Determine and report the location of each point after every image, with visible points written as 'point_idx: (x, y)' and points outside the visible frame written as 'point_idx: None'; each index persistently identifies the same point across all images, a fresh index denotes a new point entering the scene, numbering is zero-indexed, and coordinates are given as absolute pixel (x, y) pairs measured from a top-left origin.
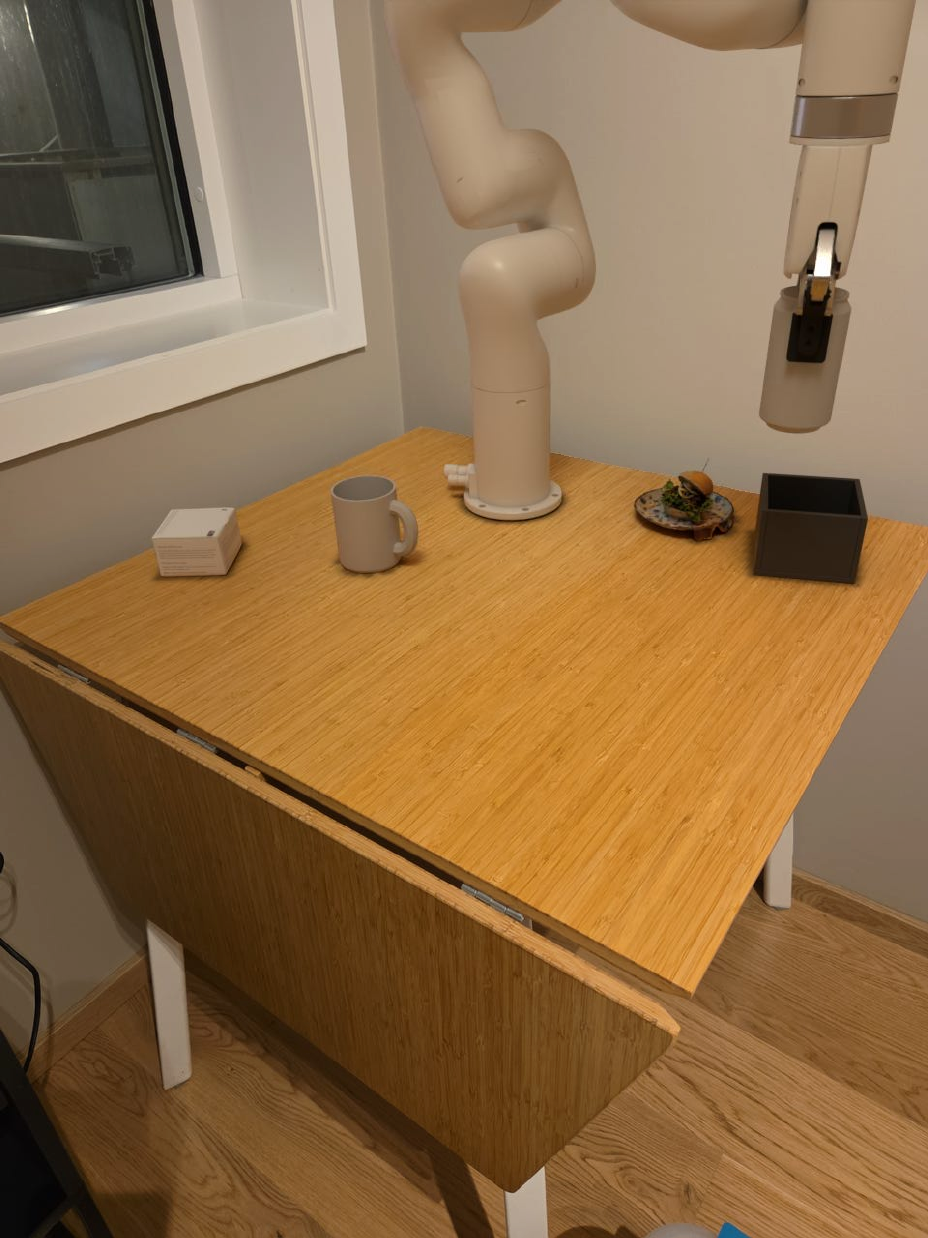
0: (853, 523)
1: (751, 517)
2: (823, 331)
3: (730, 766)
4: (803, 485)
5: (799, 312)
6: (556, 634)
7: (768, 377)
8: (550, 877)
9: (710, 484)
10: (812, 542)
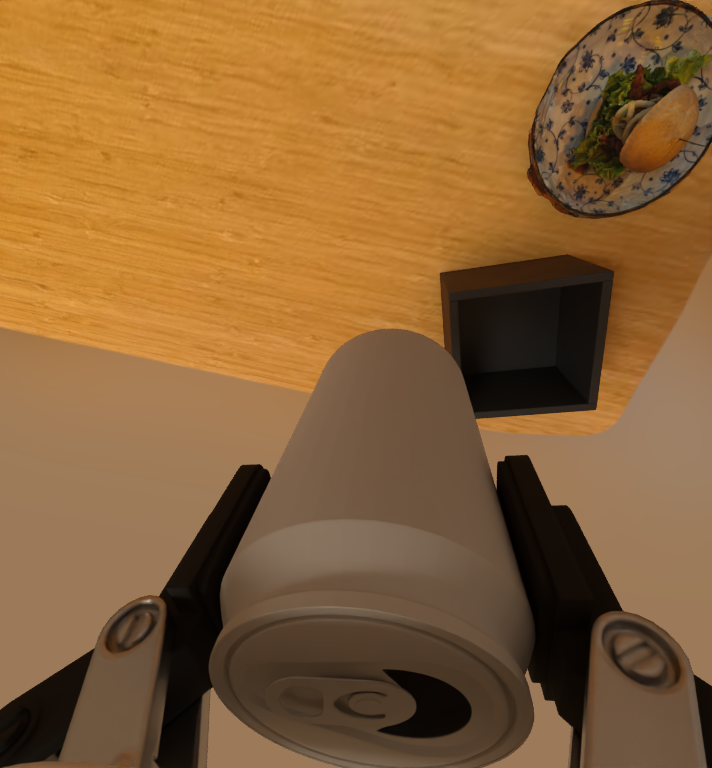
0: None
1: (628, 240)
2: None
3: (113, 306)
4: (590, 334)
5: (122, 619)
6: (199, 47)
7: (330, 383)
8: None
9: (641, 167)
10: (448, 349)
